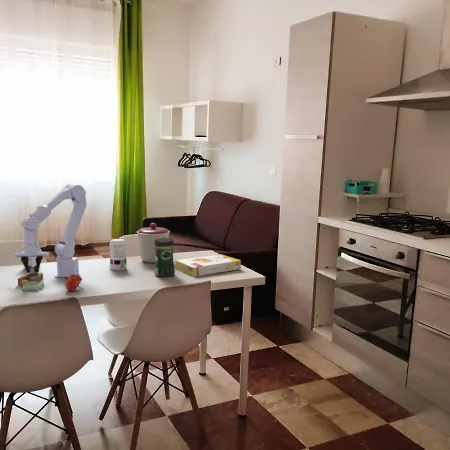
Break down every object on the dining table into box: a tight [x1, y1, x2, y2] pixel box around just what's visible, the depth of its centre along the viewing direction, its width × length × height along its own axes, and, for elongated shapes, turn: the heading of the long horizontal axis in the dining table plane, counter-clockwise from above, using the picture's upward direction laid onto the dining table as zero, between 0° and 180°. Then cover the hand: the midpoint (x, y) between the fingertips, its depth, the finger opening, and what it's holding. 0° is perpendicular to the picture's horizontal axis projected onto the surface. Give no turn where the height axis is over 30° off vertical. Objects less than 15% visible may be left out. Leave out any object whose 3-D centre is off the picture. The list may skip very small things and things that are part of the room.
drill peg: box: [29, 265, 37, 276], centre depth 218 cm, size 3×3×7 cm
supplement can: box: [109, 238, 128, 271], centre depth 242 cm, size 8×8×15 cm
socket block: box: [17, 272, 44, 286], centre depth 216 cm, size 7×11×3 cm, turn 0°
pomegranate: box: [63, 274, 85, 293], centre depth 204 cm, size 7×7×10 cm
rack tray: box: [22, 281, 45, 292], centre depth 206 cm, size 6×6×2 cm
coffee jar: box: [153, 237, 176, 278], centre depth 231 cm, size 10×8×19 cm
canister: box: [136, 222, 171, 264], centre depth 260 cm, size 18×18×21 cm
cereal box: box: [174, 254, 242, 278], centre depth 245 cm, size 20×6×28 cm
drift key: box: [21, 279, 29, 287], centre depth 213 cm, size 3×6×3 cm, turn 0°
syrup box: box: [21, 240, 40, 268], centre depth 241 cm, size 6×6×14 cm
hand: (32, 272), depth 218 cm, fingers open, 4 cm apart
